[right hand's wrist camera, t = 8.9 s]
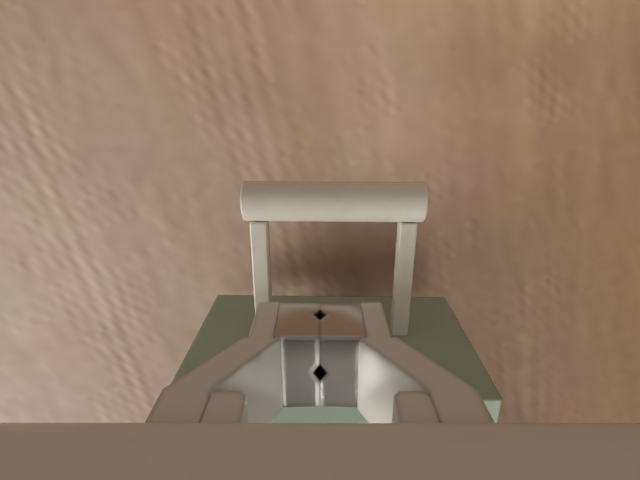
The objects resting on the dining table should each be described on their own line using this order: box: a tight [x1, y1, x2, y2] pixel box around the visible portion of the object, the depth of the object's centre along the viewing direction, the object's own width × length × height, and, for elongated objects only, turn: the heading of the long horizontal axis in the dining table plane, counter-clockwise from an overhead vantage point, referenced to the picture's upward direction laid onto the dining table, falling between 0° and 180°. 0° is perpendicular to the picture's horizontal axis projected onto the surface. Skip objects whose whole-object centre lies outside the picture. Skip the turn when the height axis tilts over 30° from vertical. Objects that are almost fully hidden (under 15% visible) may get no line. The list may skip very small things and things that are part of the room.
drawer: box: [171, 181, 502, 423], centre depth 18 cm, size 25×10×6 cm, turn 0°
